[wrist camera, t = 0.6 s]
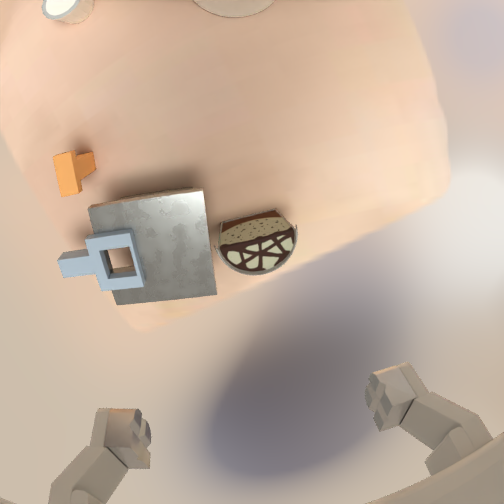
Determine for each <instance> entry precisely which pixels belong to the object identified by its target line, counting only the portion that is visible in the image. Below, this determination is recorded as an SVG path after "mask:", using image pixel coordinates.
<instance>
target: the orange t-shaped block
mask: <svg viewBox="0 0 504 504" xmlns="http://www.w3.org/2000/svg"><path fill="white" fill-rule="evenodd" d="M53 161H54V166H55V171H56V175H57V180H58V184H59V189H60V193H61V197H65V196H69V195H74V194H78V193H80V192H81V191H82V185H81V180H82V179H83V178H84V177H86V176H87V175H89V174H90V173H91V172H93V171H94V170H96V167H95V161H94V156H93V152H89V153H85V154H81V155H77V156H76V155H75V150H73V151H69V152H65V153H62V154H58V155H56V156H53Z"/></svg>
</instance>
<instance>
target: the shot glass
mask: <svg viewBox="0 0 504 504" xmlns="http://www.w3.org/2000/svg"><path fill="white" fill-rule="evenodd" d="M93 7H94V1H93V0H43V4H42V11H43V14H44V15H45V16H46V17H47V18H49V19H53V20H58V21H62V22H66V23H70V24H76V23H80V22H82V21H84V20H85V19H86V18H87V17H88V16H89V15H90V14H91V12H92V10H93Z"/></svg>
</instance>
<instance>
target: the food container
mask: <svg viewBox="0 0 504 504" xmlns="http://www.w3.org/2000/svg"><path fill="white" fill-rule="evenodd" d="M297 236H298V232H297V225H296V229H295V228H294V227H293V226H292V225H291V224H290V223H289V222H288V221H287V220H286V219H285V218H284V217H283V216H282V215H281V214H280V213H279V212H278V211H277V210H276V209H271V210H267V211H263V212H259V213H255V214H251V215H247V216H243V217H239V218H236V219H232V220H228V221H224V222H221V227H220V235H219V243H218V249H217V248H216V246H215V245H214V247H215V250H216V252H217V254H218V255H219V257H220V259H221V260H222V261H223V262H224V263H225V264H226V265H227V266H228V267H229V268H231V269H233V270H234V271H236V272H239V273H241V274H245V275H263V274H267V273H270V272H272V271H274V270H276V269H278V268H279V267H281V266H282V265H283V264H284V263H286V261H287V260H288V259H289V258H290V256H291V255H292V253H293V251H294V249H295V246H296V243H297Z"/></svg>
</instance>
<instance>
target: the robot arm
mask: <svg viewBox="0 0 504 504" xmlns="http://www.w3.org/2000/svg"><path fill="white" fill-rule="evenodd" d="M194 1H195V2H196V3H197V4H198V5H199V6H200V7H201V8H203V9H205V10H206V11H208V12H210V13H213V14H216V15H219V16H224V17H245V16H250V15H253V14H256V13H259V12H261V11H263V10H264V9H266V8H267V7H269V6H270V5H271V4H272V3H273V2H274V1H275V0H194ZM369 381H370V383H369V384H368V386H366V389H365V400H366V403H367V406H368V408H369V409H370V410H372V411H373V412H375V414H374V417H373V419H374V421H375V423H376V425H377V427H378V429H379V431H380V432H381V431H384V430H387V429H390V428H393V427H396V426H399V425H400V427H401V428H402V429H404V430H405V431H407V432H408V433H410V434H411V435H413V436H414V437H415V438H416V439H418V440H419V441H421V442H422V443H424V444H425V445H427V446H428V447H429V448H431V449H432V450H434V451H433V452H432V453H431V454H430V455H429V457H427V459H426V461H425V464H426V466H427V468H428V470H429V472H430V474H431V476H430V477H428V478H426V479H424V480H422V481H420V482H418V483H415V484H413V485H411V486H409V487H407V488H404V489H402V490H400V491H398V492H395V493H392V494H390V495H387V496H385V497H382V498H380V499H377V500H374V501H371V502H369V503H366V504H504V432H503V433H501V434H500V435H499V436H497V437H496V438H494V439H493V438H492V436H491V435H490V433H489V432H488V430H487V428H486V427H485V425H484V423H483V422H482V420H481V419H480V417H479V415H477V414H475V413H473V412H471V411H469V410H467V409H465V408H463V407H461V406H459V405H457V404H455V403H453V402H451V401H449V400H447V399H446V398H443V397H442V396H440V395H438V394H436V393H433V392H430V393H429V392H428V390H427V389H426V387H425V385H424V384H423V382H422V381H421V379H420V378H419V376H418V375H417V373H416V372H415V370H414V368H413V367H412V365H411V364H410V363H409V362H405V363H402V364H399V365H396V366H392V367H389V368H386V369H383V370H380V371H376V372H373V373H371V374H370V377H369ZM150 444H151V431H150V427H149V424H148V422H147V421H146V420H145V419H143V418H142V413H141V411H140V410H139V409H113V408H99V409H98V410H97V412H96V416H95V422H94V427H93V431H92V437H91V442H90V446H86V447H85V448H84V449H83V450H82V451H81V452H80V453H79V454H78V456H77V457H76V458H75V459H74V460H73V461H72V462H71V463H70V464H69V465H68V466H67V467H66V469H65V470H64V471H63V472H62V473H61V474H60V475H59V476H58V477H57V478H56V479H55V480H54V482H53V483H52V484H51V490H50V496H49V503H48V504H106V503H107V501H108V500H109V498H110V497H111V495H112V494H113V492H114V491H115V489H116V488H117V486H118V485H119V483H120V482H121V480H122V479H123V477H124V476H125V474H126V473H127V471H128V469H150V452H149V451H148V450H147V447H148V446H149V445H150ZM0 504H15V503H13V502H10V501H8V500H5V499H2V498H0Z"/></svg>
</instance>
